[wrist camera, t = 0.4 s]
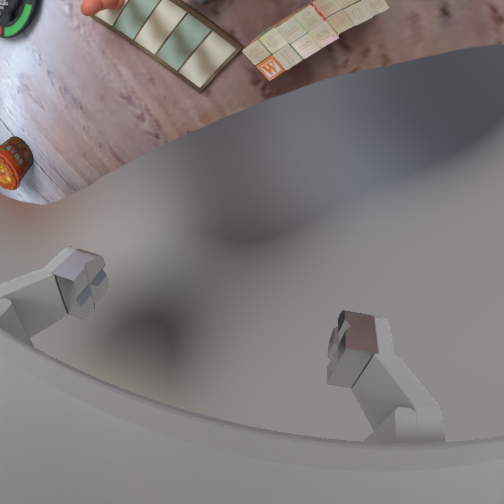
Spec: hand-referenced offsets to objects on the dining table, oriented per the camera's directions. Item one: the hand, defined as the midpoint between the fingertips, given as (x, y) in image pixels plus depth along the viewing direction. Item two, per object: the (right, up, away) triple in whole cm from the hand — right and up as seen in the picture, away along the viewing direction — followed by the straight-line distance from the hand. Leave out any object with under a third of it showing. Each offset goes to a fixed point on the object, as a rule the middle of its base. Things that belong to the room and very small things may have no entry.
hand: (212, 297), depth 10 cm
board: (-15, +43, +34) cm, 57 cm away
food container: (-73, +34, +66) cm, 104 cm away
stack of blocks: (+12, +40, +30) cm, 51 cm away
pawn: (-24, +48, +29) cm, 61 cm away
